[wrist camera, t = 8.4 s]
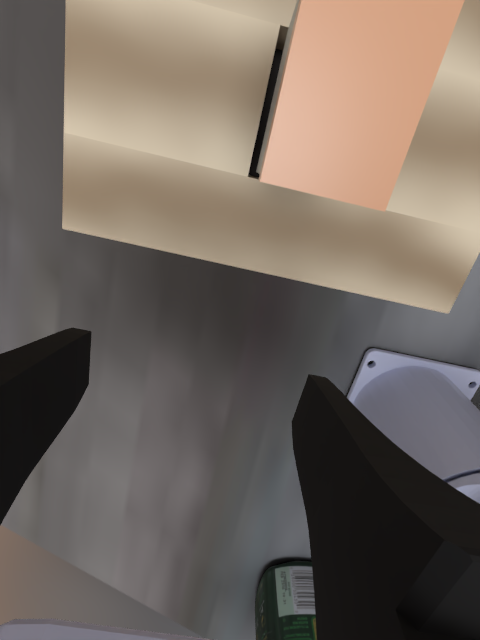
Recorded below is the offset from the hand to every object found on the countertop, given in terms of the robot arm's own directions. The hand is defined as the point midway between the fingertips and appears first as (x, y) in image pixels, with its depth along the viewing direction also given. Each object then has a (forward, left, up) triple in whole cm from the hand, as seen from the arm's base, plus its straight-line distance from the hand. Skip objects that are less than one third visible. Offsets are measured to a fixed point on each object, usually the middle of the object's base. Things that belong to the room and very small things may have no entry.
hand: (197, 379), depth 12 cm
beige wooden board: (+9, -2, -10) cm, 14 cm away
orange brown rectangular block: (+9, -2, -7) cm, 12 cm away
